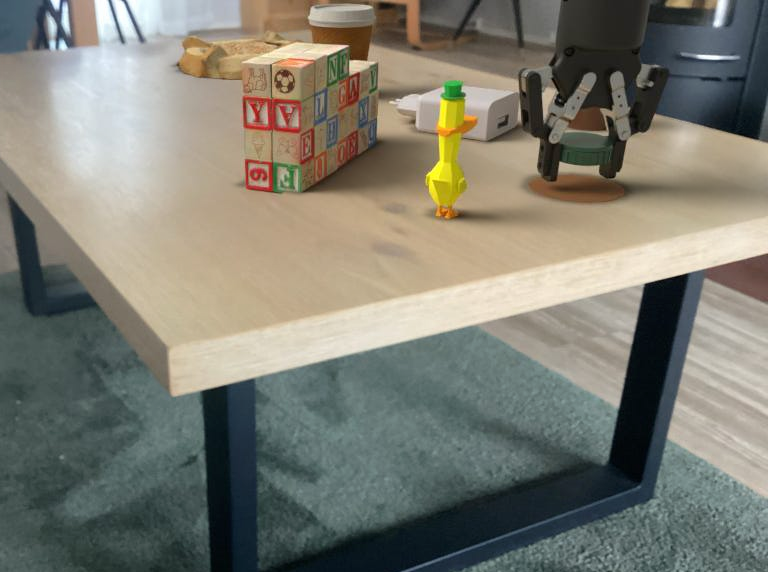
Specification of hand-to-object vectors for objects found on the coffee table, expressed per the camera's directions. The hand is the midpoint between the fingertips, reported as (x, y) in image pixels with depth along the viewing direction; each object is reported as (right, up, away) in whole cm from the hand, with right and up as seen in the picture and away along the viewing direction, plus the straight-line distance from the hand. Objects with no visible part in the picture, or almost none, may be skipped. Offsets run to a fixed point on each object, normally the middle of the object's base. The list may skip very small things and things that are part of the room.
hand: (577, 177), depth 84 cm
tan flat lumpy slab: (-35, +32, +63) cm, 79 cm away
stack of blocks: (-25, +3, +10) cm, 27 cm away
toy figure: (-14, -5, -6) cm, 16 cm away
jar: (+9, +11, +23) cm, 27 cm away
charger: (-9, +11, +24) cm, 27 cm away
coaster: (0, -1, +1) cm, 1 cm away
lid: (0, +3, -2) cm, 3 cm away
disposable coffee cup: (-21, +20, +41) cm, 50 cm away
